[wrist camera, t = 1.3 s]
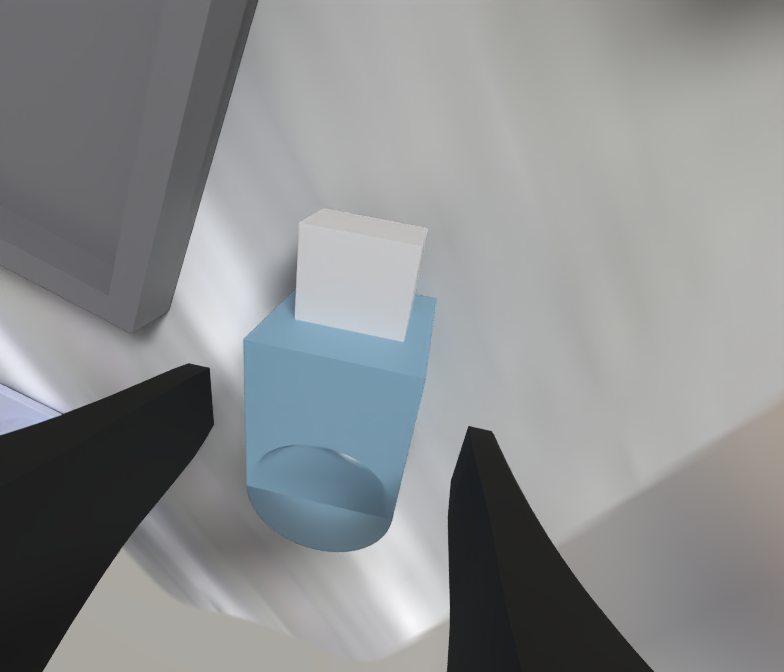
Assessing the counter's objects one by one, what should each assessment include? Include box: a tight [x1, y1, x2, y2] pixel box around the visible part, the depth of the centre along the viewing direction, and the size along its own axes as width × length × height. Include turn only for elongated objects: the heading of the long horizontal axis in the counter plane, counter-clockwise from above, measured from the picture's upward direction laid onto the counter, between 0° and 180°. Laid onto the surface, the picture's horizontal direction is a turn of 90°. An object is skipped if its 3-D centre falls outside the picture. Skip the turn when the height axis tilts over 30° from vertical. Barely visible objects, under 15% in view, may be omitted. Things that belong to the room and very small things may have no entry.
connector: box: [243, 208, 436, 552], centre depth 13 cm, size 10×4×5 cm, turn 171°
